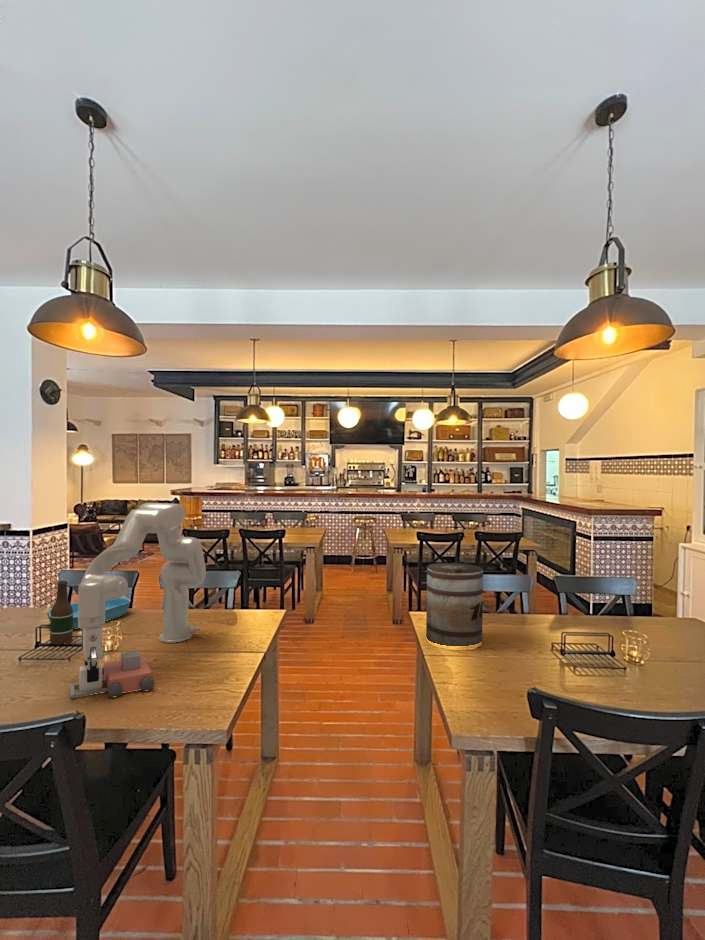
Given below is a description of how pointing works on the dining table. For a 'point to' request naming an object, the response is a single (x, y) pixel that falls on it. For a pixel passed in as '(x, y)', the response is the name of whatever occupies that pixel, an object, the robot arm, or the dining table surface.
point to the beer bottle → (61, 617)
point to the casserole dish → (111, 609)
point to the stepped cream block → (83, 680)
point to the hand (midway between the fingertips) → (91, 675)
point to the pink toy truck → (122, 676)
